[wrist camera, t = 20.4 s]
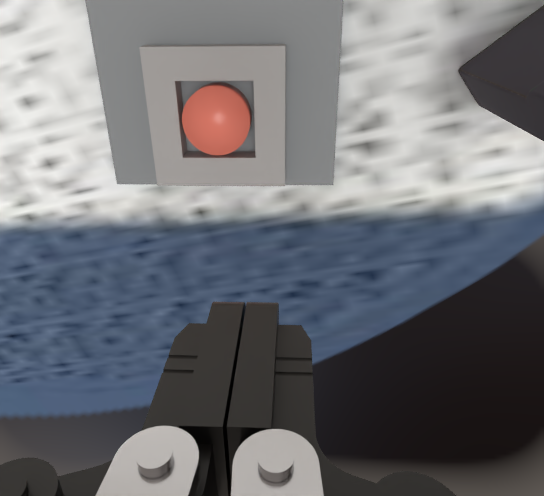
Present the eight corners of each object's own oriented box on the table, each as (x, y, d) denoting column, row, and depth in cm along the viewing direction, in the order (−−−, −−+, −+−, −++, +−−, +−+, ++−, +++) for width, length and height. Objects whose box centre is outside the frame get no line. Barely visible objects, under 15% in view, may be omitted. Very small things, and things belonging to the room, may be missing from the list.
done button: (185, 82, 31) (178, 87, 29) (250, 81, 31) (248, 86, 29) (191, 147, 33) (185, 155, 31) (252, 147, 33) (250, 155, 31)
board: (46, -259, 24) (23, -284, 22) (356, -270, 24) (362, -296, 22) (120, 180, 35) (109, 191, 33) (332, 181, 35) (334, 193, 33)
